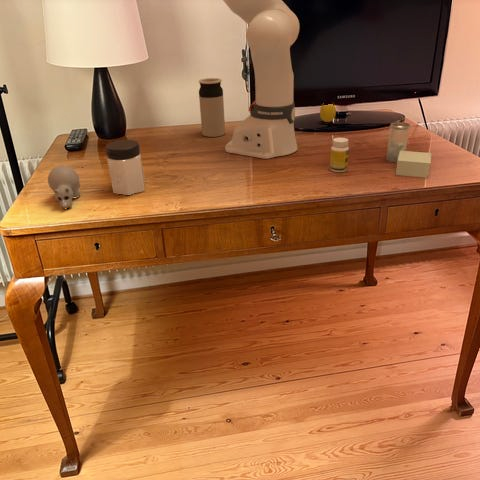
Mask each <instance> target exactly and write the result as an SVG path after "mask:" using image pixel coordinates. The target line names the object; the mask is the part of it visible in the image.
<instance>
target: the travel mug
mask: <svg viewBox="0 0 480 480" xmlns="http://www.w3.org/2000/svg"><path fill="white" fill-rule="evenodd" d="M198 83H199V86H200V88H199V90H198V97H199V98H198V99H199V111H200V122H201V124H200V125H201V134H202V135H203V136H204V137H207V138H217V137H218V138H219V137H222V136H223V135H225V134H226V125H225V121H226V119H225V105H224V89H223V87H222V86H221V85H222V84H221V83H222V79H221V78H219V77H206V78H201V79H199V80H198Z"/></svg>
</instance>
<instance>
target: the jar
mask: <svg viewBox="0 0 480 480" xmlns="http://www.w3.org/2000/svg"><path fill="white" fill-rule="evenodd" d="M105 154H106V156H107V158H106V161H107V166H108V171H109V176H110V177H109V178H110V182H111V187H112V192H113V194H114V193H118V194H124V195H123V196H125V195H130V196H132V195H131V194H133V195H135V194H134V193H137V192H140V193H142V192H141V191H143V192H145V191H144V190H145V188H146V181H145V174H144V168H143V162H142V154H141V149H140V144H139V142H138V141H136V140H134V139H121V140H120V139H119V140H115V141H111V142H109V143H107V144H106V145H105ZM118 194H117V195H118ZM137 194H138V193H137Z"/></svg>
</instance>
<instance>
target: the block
mask: <svg viewBox="0 0 480 480" xmlns="http://www.w3.org/2000/svg"><path fill="white" fill-rule="evenodd" d="M431 160H432V153H431V152H422V151H411V150H409V151H408V150H406V151H400V152H399V157H398V161H397V164H396V169H395V175H396V176H403V177H413V178H414V177H415V178H424V179H425V178H426V179H428V178H429V173H430V168H431V164H432V162H431Z"/></svg>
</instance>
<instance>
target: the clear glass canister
mask: <svg viewBox="0 0 480 480" xmlns="http://www.w3.org/2000/svg"><path fill="white" fill-rule="evenodd" d="M410 128H411V124H410V123H408V122H403V121H396V122H391V123H390V124H389V134H388V142H387V151H386V158H385V159H386V161H388V162H390V163H397V161H398V157H399V152H400V151H407V145H408V141H409V139H408V138H409V133H410Z"/></svg>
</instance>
